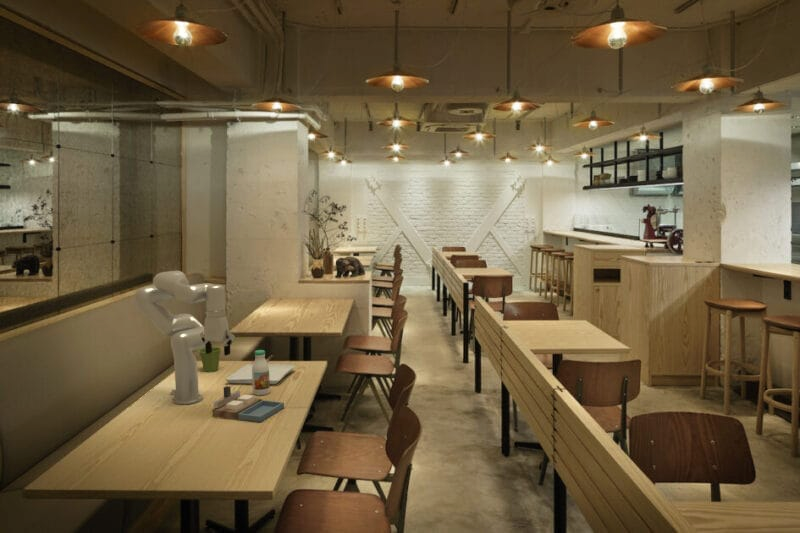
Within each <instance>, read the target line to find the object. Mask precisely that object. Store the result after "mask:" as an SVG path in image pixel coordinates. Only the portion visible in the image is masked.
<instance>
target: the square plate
mask: <svg viewBox="0 0 800 533" xmlns="http://www.w3.org/2000/svg"><path fill="white" fill-rule="evenodd" d="M253 364H254V363H248V364H247V363H246V364H244V366H241V367H240V368H239V369H237V370H236V371H235V372H233V373H232V374H230V375H229V376H228V377H226V378H225V379H224V380H225V382H228V383H230V384H242V385H243V384H246V385H253V384H252V367H253ZM267 364H268V367H269V380H270V385H275V384H278V383H279V382H280V381H281V380H282V379H283V378H285V376H287V375H288V374H289V373H290V372H292V370H294V368H296V365H294V364H282V363H281V364H280V363H278V364H277V363H275V364H274V363H267Z"/></svg>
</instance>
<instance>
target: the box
mask: <svg viewBox="0 0 800 533" xmlns="http://www.w3.org/2000/svg"><path fill="white" fill-rule="evenodd" d="M284 409H285V402H283V401H275V400H274V401H273V400H264V399H262V401H260V402H258V403H256V404H255V405H253V406H251V407H249V408H247V409H246V410H244V411H242V412H240V413H238V420H237V421H245V422H252V423H263V422H264V421H266V420H268V419H270V418H271V417H273V416H274V415H276V414H277V413H279V412H281V411H282V410H284Z"/></svg>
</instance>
